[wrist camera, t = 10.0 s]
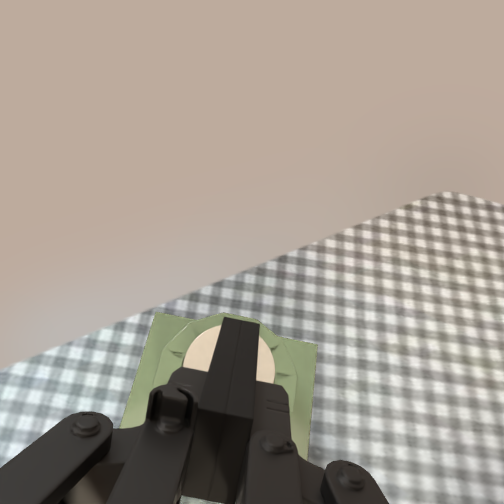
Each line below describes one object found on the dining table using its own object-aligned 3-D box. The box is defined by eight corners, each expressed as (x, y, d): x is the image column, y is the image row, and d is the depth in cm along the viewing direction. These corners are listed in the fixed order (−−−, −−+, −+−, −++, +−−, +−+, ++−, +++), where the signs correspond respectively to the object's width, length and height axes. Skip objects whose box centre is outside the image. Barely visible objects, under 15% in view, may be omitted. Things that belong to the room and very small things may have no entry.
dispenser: (283, 392, 36) (326, 331, 24) (271, 493, 32) (315, 479, 20) (166, 368, 36) (152, 296, 24) (139, 467, 32) (106, 437, 20)
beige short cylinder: (273, 350, 24) (281, 333, 22) (260, 434, 22) (268, 424, 19) (195, 334, 24) (195, 316, 22) (174, 416, 22) (172, 405, 19)
